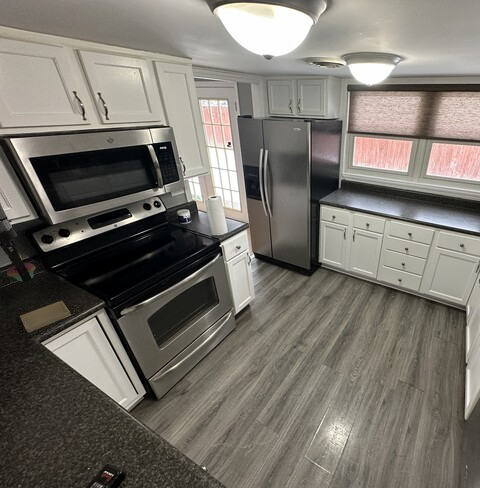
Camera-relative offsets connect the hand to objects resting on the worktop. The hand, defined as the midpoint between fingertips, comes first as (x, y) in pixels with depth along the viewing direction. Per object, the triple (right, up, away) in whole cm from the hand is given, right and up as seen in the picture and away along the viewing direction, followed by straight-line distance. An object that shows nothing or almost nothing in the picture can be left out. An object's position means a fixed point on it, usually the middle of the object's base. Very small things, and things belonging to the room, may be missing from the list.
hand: (25, 277), depth 117 cm
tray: (+8, -19, +2) cm, 20 cm away
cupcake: (0, -1, 0) cm, 1 cm away
